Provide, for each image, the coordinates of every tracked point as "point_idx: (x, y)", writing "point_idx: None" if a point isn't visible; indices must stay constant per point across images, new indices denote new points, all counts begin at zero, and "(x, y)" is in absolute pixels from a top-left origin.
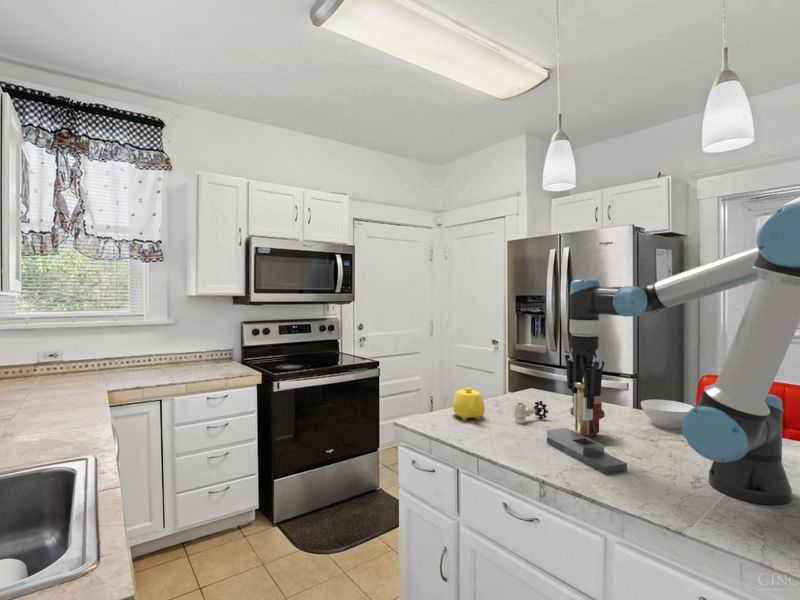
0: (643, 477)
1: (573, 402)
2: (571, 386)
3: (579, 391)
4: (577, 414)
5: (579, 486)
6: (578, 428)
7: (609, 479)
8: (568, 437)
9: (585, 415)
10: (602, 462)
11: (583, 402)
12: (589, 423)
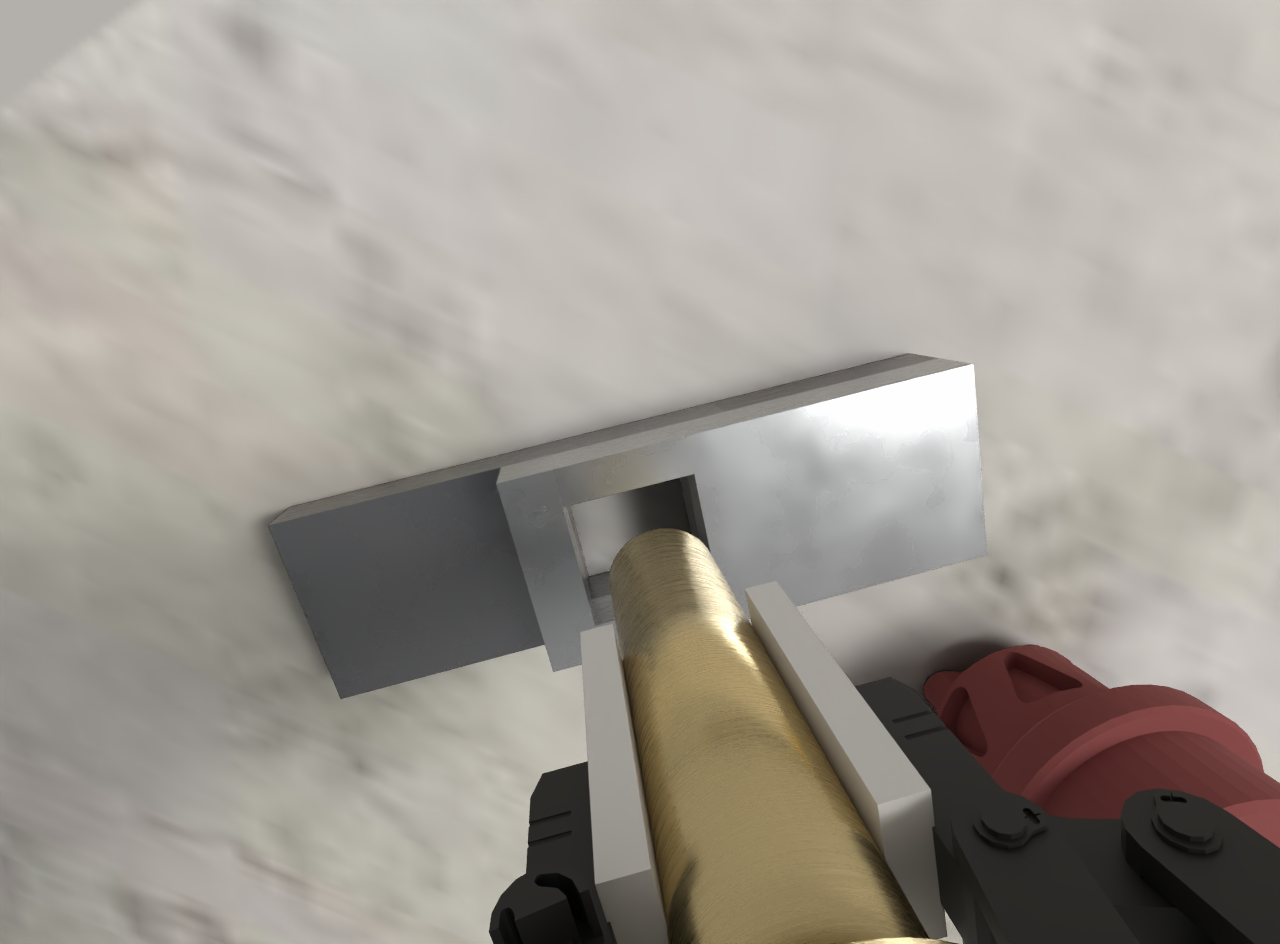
0: (258, 715)
1: (889, 686)
2: (1156, 890)
3: (763, 912)
4: (701, 614)
5: (54, 226)
6: (652, 550)
7: (209, 499)
8: (761, 473)
9: (587, 677)
10: (354, 545)
11: (624, 783)
12: (989, 755)
